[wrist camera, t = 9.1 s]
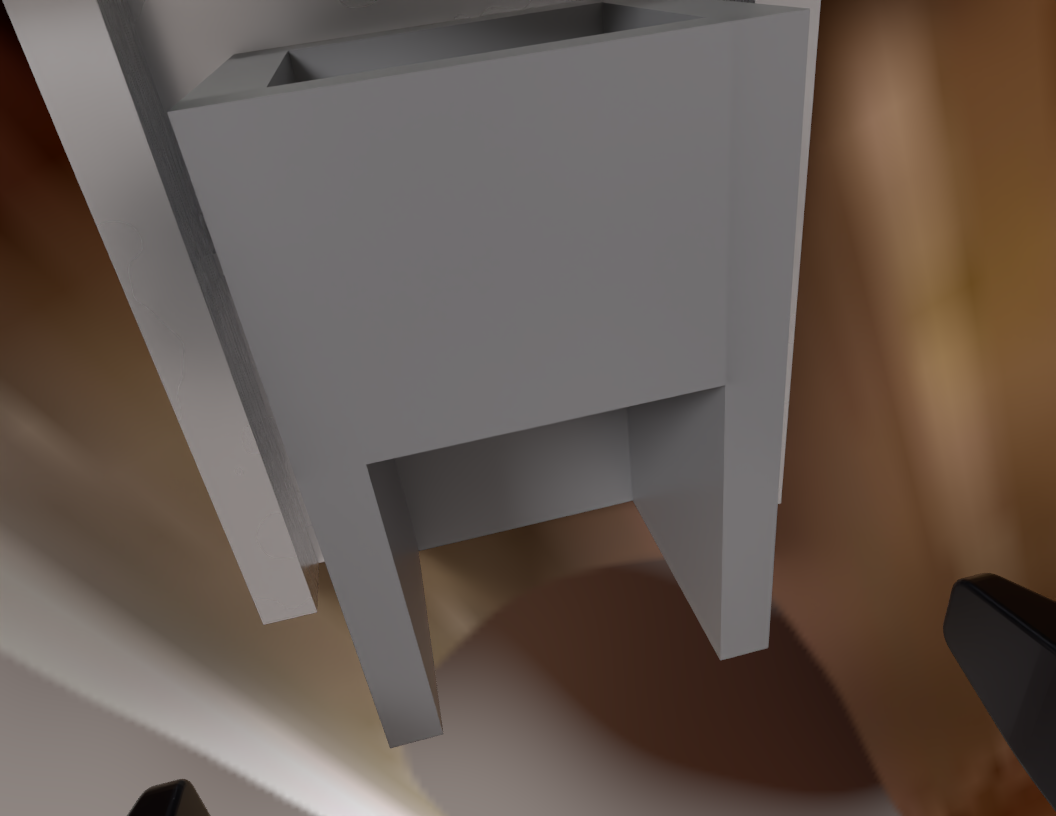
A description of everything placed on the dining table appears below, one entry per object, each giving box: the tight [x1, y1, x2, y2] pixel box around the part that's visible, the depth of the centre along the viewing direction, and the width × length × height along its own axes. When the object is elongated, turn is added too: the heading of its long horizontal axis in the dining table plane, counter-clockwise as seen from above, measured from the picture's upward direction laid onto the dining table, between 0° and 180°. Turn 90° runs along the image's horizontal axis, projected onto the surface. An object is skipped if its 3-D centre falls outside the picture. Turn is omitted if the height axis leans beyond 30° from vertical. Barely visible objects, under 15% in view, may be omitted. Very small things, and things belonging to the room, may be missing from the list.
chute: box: [167, 0, 810, 748], centre depth 11 cm, size 6×9×5 cm, turn 7°
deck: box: [2, 0, 821, 625], centre depth 10 cm, size 14×19×4 cm
